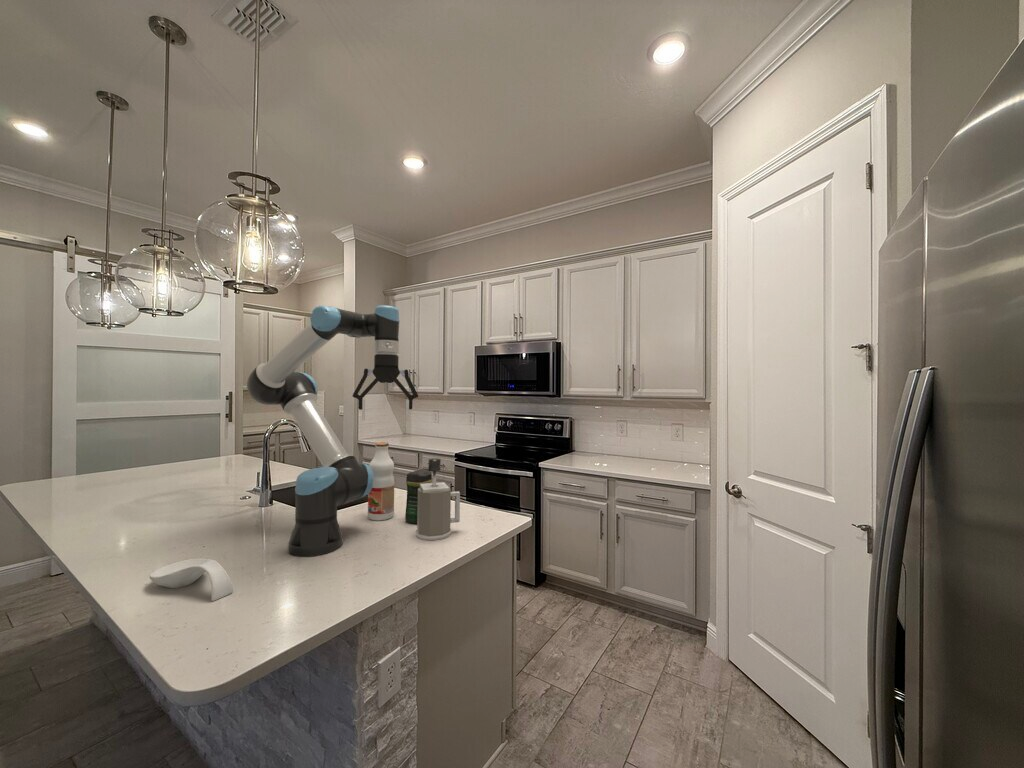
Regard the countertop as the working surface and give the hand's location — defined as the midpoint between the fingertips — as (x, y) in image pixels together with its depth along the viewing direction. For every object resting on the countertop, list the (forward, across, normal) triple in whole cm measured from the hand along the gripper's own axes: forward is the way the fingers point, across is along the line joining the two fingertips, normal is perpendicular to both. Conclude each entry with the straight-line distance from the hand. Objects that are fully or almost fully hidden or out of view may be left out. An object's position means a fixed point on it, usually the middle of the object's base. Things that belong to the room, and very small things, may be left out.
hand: (385, 419), depth 135 cm
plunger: (+34, +16, 0) cm, 37 cm away
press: (+39, +17, 0) cm, 42 cm away
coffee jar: (+39, +13, +16) cm, 44 cm away
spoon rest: (+39, -46, -18) cm, 63 cm away
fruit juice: (+39, 0, +24) cm, 46 cm away
